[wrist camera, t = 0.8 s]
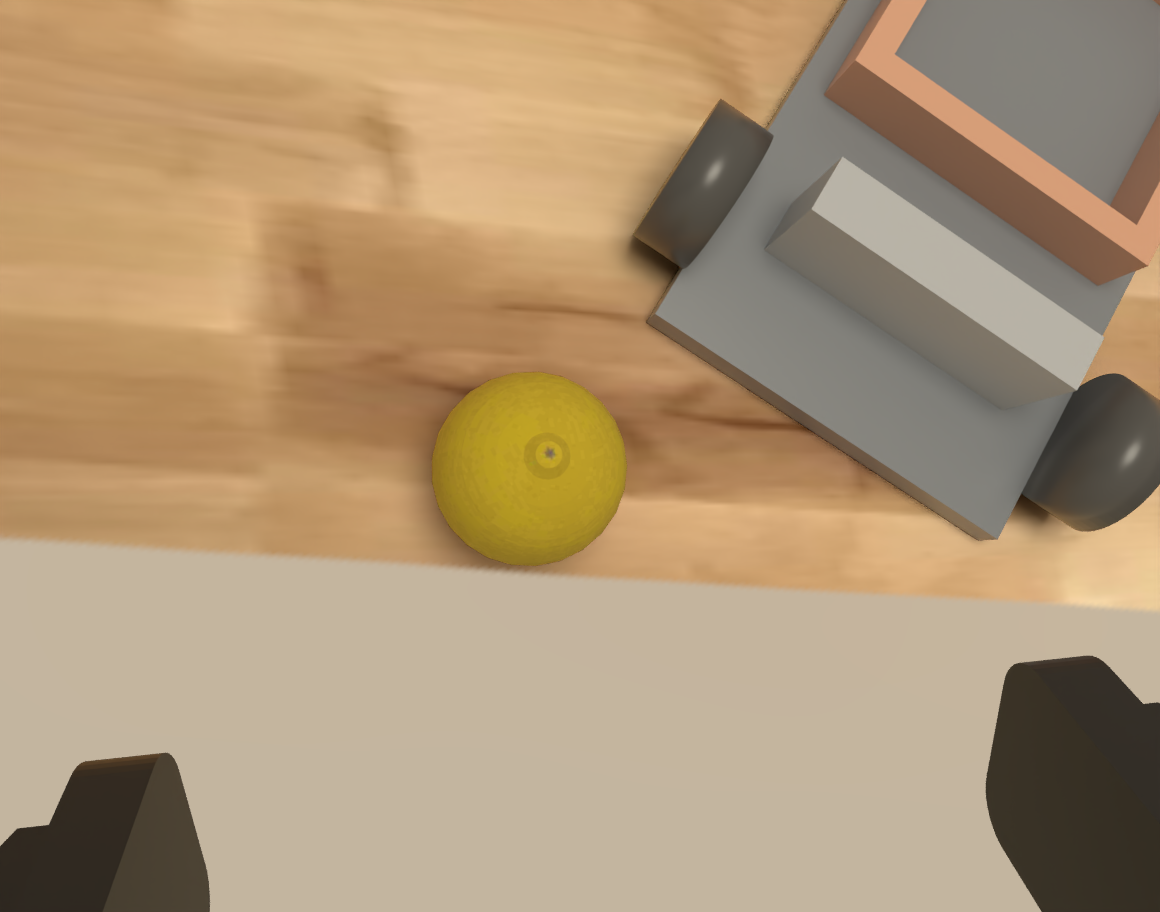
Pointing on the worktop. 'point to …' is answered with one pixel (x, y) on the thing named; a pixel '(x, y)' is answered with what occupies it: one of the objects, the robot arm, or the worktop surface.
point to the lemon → (529, 468)
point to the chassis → (938, 250)
